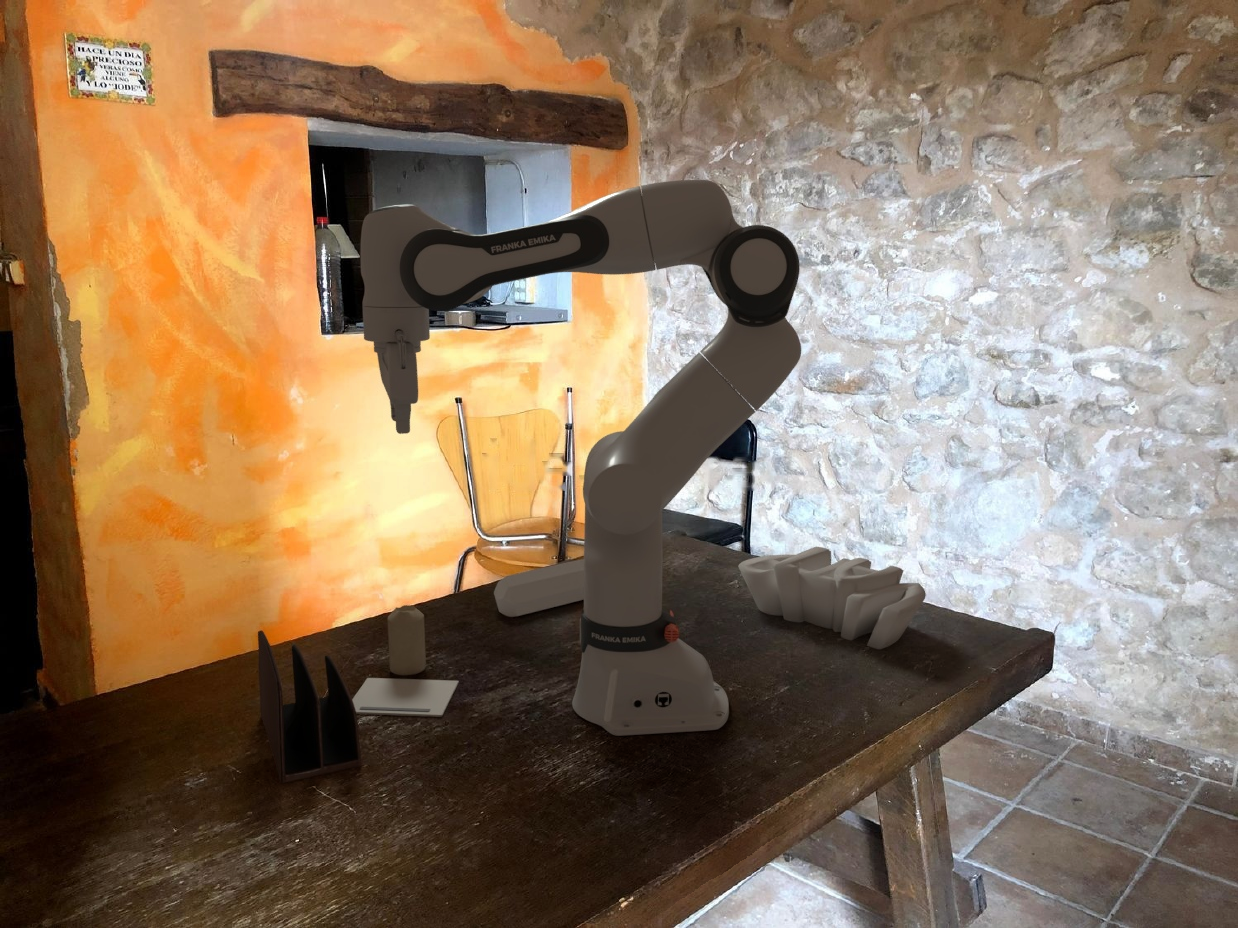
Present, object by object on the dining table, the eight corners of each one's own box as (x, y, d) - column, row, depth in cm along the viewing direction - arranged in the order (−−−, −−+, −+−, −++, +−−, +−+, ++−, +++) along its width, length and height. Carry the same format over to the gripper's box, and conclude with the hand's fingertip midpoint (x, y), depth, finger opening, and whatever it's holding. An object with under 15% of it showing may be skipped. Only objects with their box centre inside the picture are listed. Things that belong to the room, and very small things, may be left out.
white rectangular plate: (458, 682, 149) (458, 680, 149) (442, 716, 138) (441, 714, 138) (367, 679, 150) (367, 677, 150) (344, 713, 139) (343, 710, 139)
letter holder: (280, 785, 121) (272, 679, 118) (260, 716, 138) (253, 622, 135) (362, 767, 125) (357, 664, 122) (333, 702, 143) (327, 611, 139)
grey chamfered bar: (588, 562, 194) (480, 586, 179) (607, 552, 188) (497, 577, 174) (599, 598, 192) (491, 626, 178) (618, 590, 186) (508, 617, 172)
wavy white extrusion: (946, 638, 167) (951, 579, 165) (892, 665, 157) (897, 603, 154) (782, 585, 193) (784, 534, 190) (726, 605, 182) (728, 551, 179)
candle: (417, 677, 151) (415, 615, 148) (383, 674, 152) (381, 613, 149) (431, 662, 156) (429, 603, 154) (398, 659, 157) (396, 600, 155)
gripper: (427, 333, 126) (430, 439, 129) (413, 320, 145) (416, 413, 148) (376, 334, 124) (381, 442, 127) (369, 321, 143) (373, 414, 146)
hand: (400, 426), depth 138 cm, fingers open, 8 cm apart
